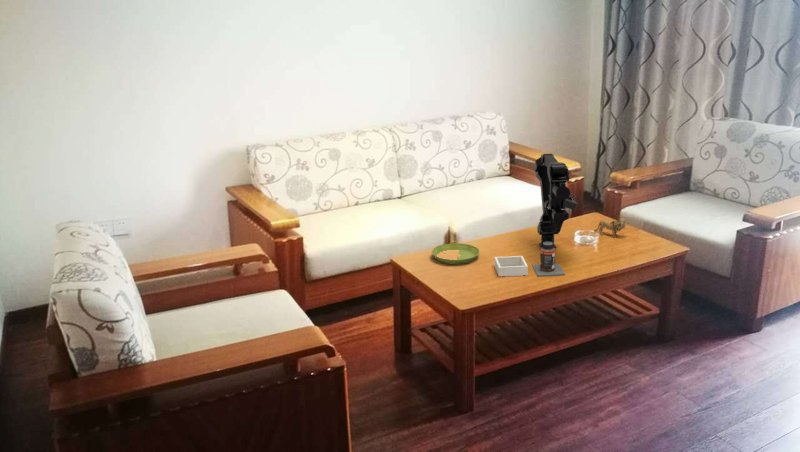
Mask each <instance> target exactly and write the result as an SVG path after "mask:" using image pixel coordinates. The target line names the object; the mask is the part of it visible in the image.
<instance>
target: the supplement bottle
mask: <svg viewBox="0 0 800 452" xmlns="http://www.w3.org/2000/svg"><path fill="white" fill-rule="evenodd" d="M539 251H540V254H539V256H540V257H539V265H540V269H541V270H543V271H553V270H554V269H555V264H556V248H553V243H552V242H544V243H543V247H542V248H541V247H540V249H539Z"/></svg>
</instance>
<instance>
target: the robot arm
mask: <svg viewBox="0 0 800 452" xmlns="http://www.w3.org/2000/svg"><path fill="white" fill-rule="evenodd" d="M569 170H570V169H569V167H568V166H567V164H566V163H565V162H561V161H560V162H559V160H557V159H556V157H555V156H554V154H553V153H543V154H541V155H540V157H538V158H537V159H536V160H535V161H534V164H533V172H534V173H535V177H536V178H537V180H538V181H539V184H540V195H541V197H540V198H541V208H542V214H541V215H540V218H539V222H538V225H537V228H536V229H537V230H536V231H537V234H538V235H539V236H540V238H541V239H540V242H538V245H539V246H540V249H541V248H542V247H543V243H544V242H552V243H553V248H555V249H556V248H557V246H556V244H555V235H559V234H560V233H561V230H562V227H563V224H564V222H565V221H567V220H568V219H570V213H569V212H568V211H567V209H569V210H572V211H574V212H575V211H576V210H577V207H578V204H579V203H578V202H577V201H575V200H574V199H573V197H572V196H571V190H570V188H569V187H568V186H567V183H570V178H571V176H570V171H569Z"/></svg>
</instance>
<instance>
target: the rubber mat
mask: <svg viewBox="0 0 800 452" xmlns="http://www.w3.org/2000/svg"><path fill="white" fill-rule="evenodd" d="M531 267H532V269H533V271H534V273H535V275H536V276H537V277H556V276H557V277H558V276H566V273H565V272H564V270H563V268H562V267H561V265H560V264H559V263H555V269H554V270H553V271H543V270H541V269H540V264H532V265H531Z"/></svg>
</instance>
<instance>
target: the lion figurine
mask: <svg viewBox="0 0 800 452" xmlns="http://www.w3.org/2000/svg"><path fill="white" fill-rule="evenodd" d="M626 224H627V222H626V220H625V219H624V218H623V217H621V218H618V219H616V220H613V221H609V220H605V219H602V220H600V222H599V223H598V226H597V228H596V229H595V230H594V233H595V232H598V231H599V233H600V235H601V236H604V233H603V231H604V228H605V229H606V230H608V231H612V238H614V239H616V238H617V237H618V236H619V235H618V234H617V232H620V231H621V230H624V229H625V227H626Z"/></svg>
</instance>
